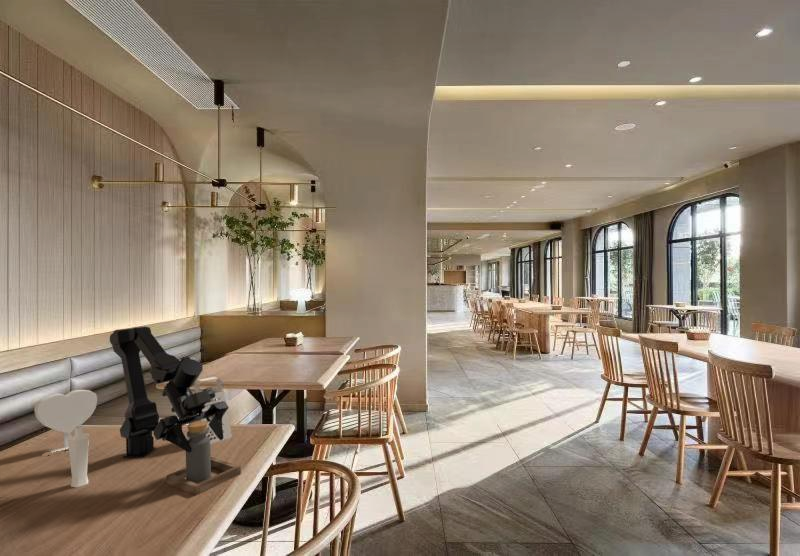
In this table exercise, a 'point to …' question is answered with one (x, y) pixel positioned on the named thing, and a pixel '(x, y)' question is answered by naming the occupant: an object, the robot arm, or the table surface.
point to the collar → (191, 487)
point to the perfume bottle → (79, 457)
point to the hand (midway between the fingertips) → (206, 445)
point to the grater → (220, 397)
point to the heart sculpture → (65, 411)
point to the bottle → (198, 453)
